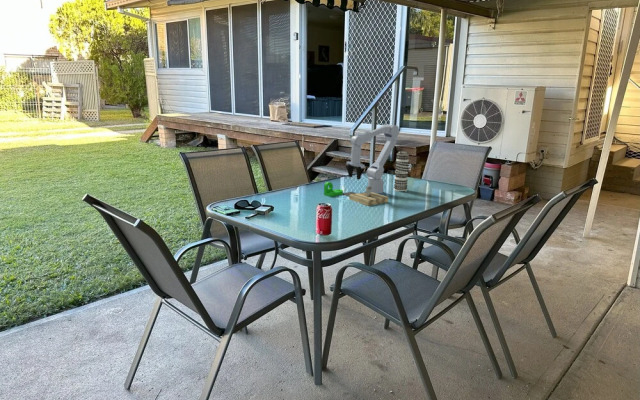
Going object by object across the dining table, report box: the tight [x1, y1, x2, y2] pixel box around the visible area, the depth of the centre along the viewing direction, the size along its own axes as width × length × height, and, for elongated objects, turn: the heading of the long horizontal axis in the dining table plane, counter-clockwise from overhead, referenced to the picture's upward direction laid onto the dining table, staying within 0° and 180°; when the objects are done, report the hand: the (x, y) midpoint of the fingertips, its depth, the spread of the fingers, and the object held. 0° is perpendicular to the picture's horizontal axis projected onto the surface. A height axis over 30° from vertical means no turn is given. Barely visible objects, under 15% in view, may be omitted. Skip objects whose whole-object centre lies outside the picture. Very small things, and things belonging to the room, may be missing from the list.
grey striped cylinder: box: [393, 150, 410, 192], centre depth 277 cm, size 9×9×25 cm
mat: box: [342, 191, 357, 198], centre depth 265 cm, size 10×10×1 cm
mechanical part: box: [323, 181, 344, 198], centre depth 262 cm, size 12×6×8 cm, turn 131°
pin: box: [365, 185, 372, 197], centre depth 250 cm, size 3×3×8 cm
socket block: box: [348, 191, 389, 206], centre depth 250 cm, size 16×16×3 cm
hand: (354, 178), depth 262 cm, fingers open, 7 cm apart
